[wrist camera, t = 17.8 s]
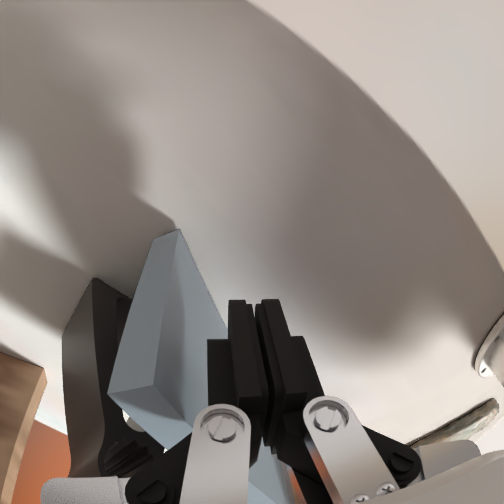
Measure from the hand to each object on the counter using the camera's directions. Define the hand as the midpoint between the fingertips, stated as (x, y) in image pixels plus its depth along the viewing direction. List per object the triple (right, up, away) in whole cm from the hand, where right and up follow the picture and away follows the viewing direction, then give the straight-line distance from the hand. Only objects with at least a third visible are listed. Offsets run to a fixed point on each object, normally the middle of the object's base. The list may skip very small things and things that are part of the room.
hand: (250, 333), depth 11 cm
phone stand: (-8, -3, +9) cm, 13 cm away
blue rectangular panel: (-1, -4, +10) cm, 11 cm away
